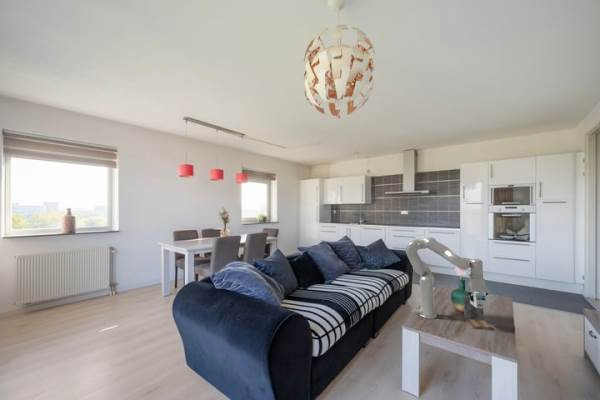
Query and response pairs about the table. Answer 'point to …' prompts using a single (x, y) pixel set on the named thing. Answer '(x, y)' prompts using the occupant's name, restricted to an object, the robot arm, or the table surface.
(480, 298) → the light bulb box
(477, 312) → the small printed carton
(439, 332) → the table surface
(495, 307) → the table surface
